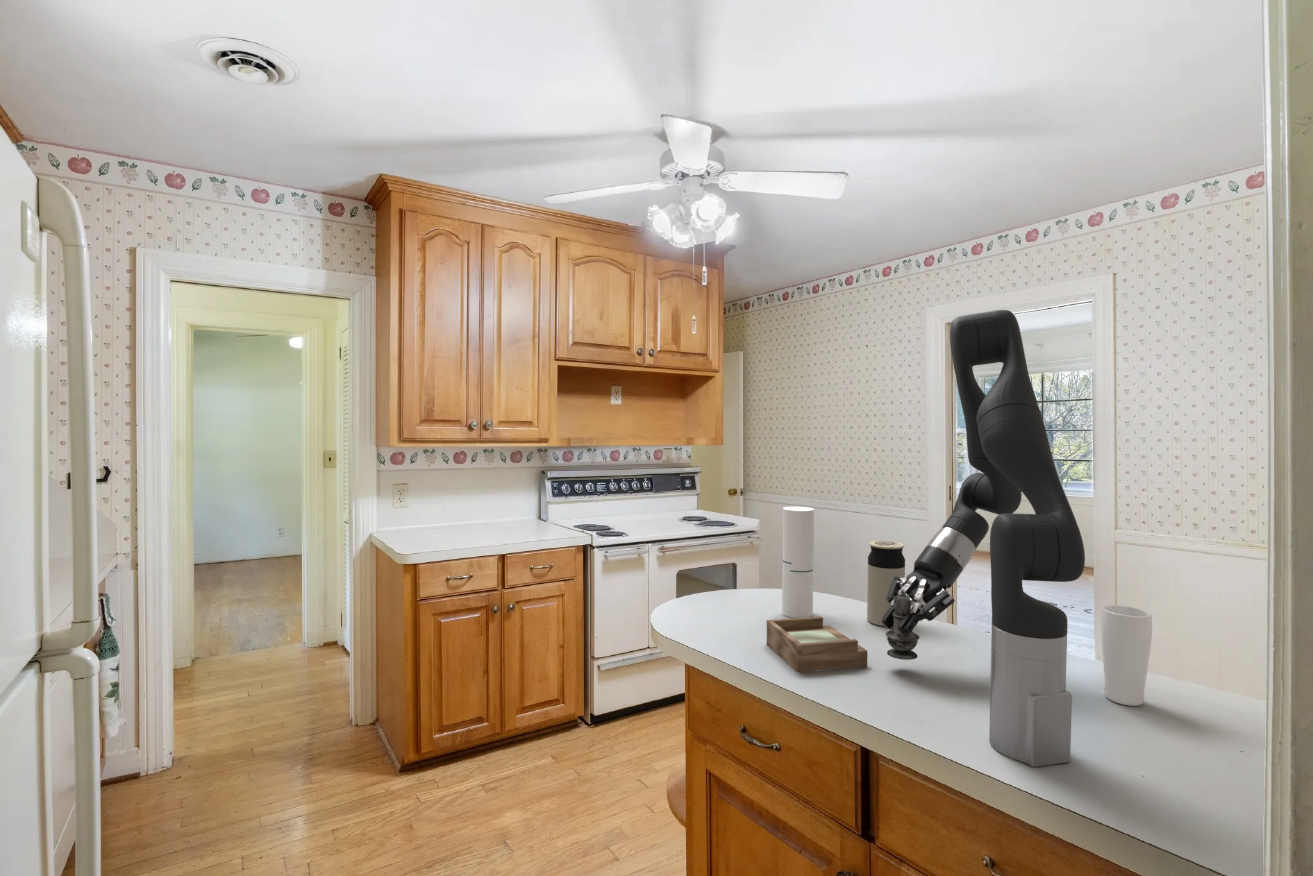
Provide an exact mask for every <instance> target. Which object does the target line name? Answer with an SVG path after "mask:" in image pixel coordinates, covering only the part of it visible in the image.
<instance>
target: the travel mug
mask: <svg viewBox="0 0 1313 876" xmlns="http://www.w3.org/2000/svg"><path fill="white" fill-rule="evenodd" d="M868 545H869V547H870V552H869V555H868V556H867V591H866V592H867V596H866V597H867V599H866V601H867V602H866V604H867V605H866V612H867V613H866V620H867V621H868V622H869V623H871V624H873V625H875V626H879V627H884V626H885V625H884V624H883V623H882V618H883V616H884V615H885V613H886V612H887V611H888V609H889V608H890V606H891V604H890V603H889V602H888V601H887V600H886V596H887V593H888V591H889V588H890V585H891V582H892V579H893V577H894V576H895V575H898V576H899V577H900V578H906V558H905V557H904V555H903V549H904V547H905V544H903V543H901V542H899V541H898V542H897V541H892V540H872V541H870V542H869V543H868ZM893 598H894V597H893ZM892 628H893V626H892Z"/></svg>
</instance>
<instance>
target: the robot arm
mask: <svg viewBox="0 0 1313 876" xmlns="http://www.w3.org/2000/svg"><path fill="white" fill-rule="evenodd" d="M949 343H950V344H949V345H950V346H949V347H950V353H951V357H952V363H953V364H952V365H953V369H954V374H955V375H954V376H955V380H956V386H957V389H958V390H957V391H958V396H959V399H960V404H961V409H962V413H963V418H964V424H965V435H966V447H967V458H968V459H967V460H968V462H969V465H971V467H973V468H974V469H976V470H977V471H979V472H974V473H972V474H970V475H969V476H968V477H966V478H965V479H964V481H963V482H962V483H961V486H960V489H959V492H958V496H957V499H956V501H955V504H954V507H953V510H952V512H951V514H950V516H949V517H948V518H947V519H946V521H945V522H944V524H942V527H941V528H940V529H939V530H938V532H936V533H935V534H934V535H933V537H932V538H931V539H930V541H929V542H927V545H925V547H924V549H923V550H922V552H921V553H920V554H919V555H918V557H917V558H916V560H915V561H914V563H913V571H912V572H910V573H909V574H908V575H907V576H905V578H900V577H899V576H898V575H895V576H894V577H893V579H892V582H891V585H890V588H889V591H888V593H887V596H886V600H887V601H888V602H889V603H890V604H891V606H890V608H889V609H888V611H887V612H886V613H885V615H884V616H883V618H882V623H883V624H884V625H885V628H887V629H889V630H890V629H891V630H892V629H893V627H892V626H893V625H894V616H893V615H892V613H893V612H894V598H895V596H897V595H899V594H901V591H902V590H903V591H904V594H905V595H907V596H908V597H910V599H911V613H910V612H908V613H907V615H906V616H905V618H904V619H903V620H902V622H901V623H900V625H899V626H898V630H899V631H900V632H901V633H902V634H903V635H906V636H907V635H908V634H909V633H911V632H913V630H914V629H915V627H916V626H917V625H918V623H919V622H922V621H923V620H926V621H929V622H931V621H933V620H934V619H936V618H937V617H938V616H939V615H940V614H942V613H943V612H944V611H945V610H947V609H948V608H949V607H950V606H952V604H954V603H955V601H956V600H955V599H954V597H953V596H952V594H951V593H950V592H949V591H948V590H947V589H950V588H951V587H953V585H954V584H955V582H956V581H957V579H958V578H959V577H960V575H961V574H962V573H963V571H964V569H965V568H966V566H967V565H968V564H969V562H971V561H970V560H971V559H972V556H973V555H974V553H975V552H976V549H978V547H979V545H980V544H981V542H982V541H983V540H984V539H985V537H986V535H987V534H988V532H989V528H990V526H989V523H988V521H987V519H986V518H985V517H983V515H982V514H980V513H978V512H977V510H981V511H985V512H988V513H991V514H994V515H996V517H995V518H994V519H993V521H992V523H991V528H990V534H989V551H990V552H989V553H990V554H989V557H990V578H991V579H990V583H991V585H990V595H991V596H990V597H991V600H990V601H991V641H990V643H991V644H990V645H991V646H990V680H989V681H990V682H989V683H990V685H989V686H990V687H989V688H990V690H989V730H988V732H989V734H988V735H989V737H988V740H989V743H990V745H991V746H992V747H993V748H994V750H996V751H998V753H1000V754H1002V755H1005V757H1009V758H1011V759H1013V760H1016V761H1020V762H1023V763H1025V764H1027V765H1029V766H1030V767H1033V768H1035V767H1041V766H1043V767H1044V766H1051V765H1057V764H1058V765H1059V764H1064V763H1070V762H1071V746H1072V716H1073V715H1072V714H1073V713H1072V710H1073V707H1072V705H1073V694H1072V693H1071V692H1069V691H1068V690H1066V688H1067V658H1068V657H1067V654H1068V651H1067V650H1068V616H1067V614H1066V613H1065V612H1064V610H1062V609H1060V608H1059V607H1057V606H1056V605H1053V604H1051V603H1047V602H1045V601H1043V600H1040V599H1038V598H1034V597H1033V596H1031V595H1029V594H1028V593H1026V592H1025V591H1024V588H1023V581H1029V582H1030V581H1031V582H1033V581H1035V582H1050V583H1051V582H1052V583H1067V582H1068V583H1069V582H1074V581H1076V580H1078V579H1079V578H1080V577H1081V576H1082V574H1083V572H1084V569H1085V563H1086V555H1085V554H1086V553H1085V547H1084V546H1085V545H1084V541H1083V537H1082V534H1081V531H1080V528H1079V525H1078V521H1077V519H1076V517H1075V515H1074V512H1073V510H1072V507H1071V504H1070V502H1069V499H1068V497H1067V494H1066V493H1065V490H1064V487H1063V486H1062V485H1063V484H1062V483H1061V479H1060V478H1059V473H1058V471H1057V469H1056V465H1055V460H1054V457H1053V454H1052V451H1051V446H1050V442H1049V438H1048V433H1047V429H1046V425H1045V421H1044V418H1043V416H1042V412H1041V408H1040V406H1039V404H1038V400H1037V397H1036V394H1035V390H1034V389H1033V388H1034V387H1033V385H1032V382H1031V381H1032V380H1031V377H1030V375H1029V370H1028V364H1027V359H1026V353H1025V349H1024V348H1025V347H1024V342H1023V338H1022V334H1021V329H1020V325H1019V321H1018V319H1017V317H1016V315H1015V314H1014V313H1013V312H1012V311H1011V310H1008V309H997V310H992V311H984V312H978V313H977V312H976V313H972V314H965V315H959V316H957V317H955V318H953V320H952V321H951V323H950V327H949ZM997 363H1001V364H1003V365H1002V366H1001V367H1002V368H1001V370H1000V373H999V375H998V376H997V379H996V380H995V382H994V383H993V385H992V386H991V388H990V389H989V390H988V391H987V393H984V391H983V389H982V388H981V386H980V385H979V383H978V382H977V379H976V377H975V374H974V367H975V366H982V365H989V364H997ZM1022 495H1024V497H1026V499H1027V500H1028V503H1029V504H1030V505H1031V507H1032V509H1033V511H1034V512H1035V513H1015V512H1016V511H1017V510H1018V508H1019V507H1020V505H1021V502H1022ZM893 597H894V598H893ZM933 608H934V609H933Z"/></svg>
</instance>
